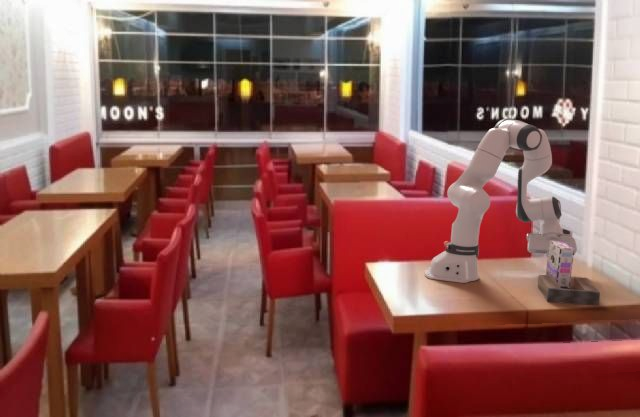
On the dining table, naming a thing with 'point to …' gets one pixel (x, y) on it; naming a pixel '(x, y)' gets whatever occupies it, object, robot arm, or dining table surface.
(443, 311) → the dining table surface
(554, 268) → the candy box
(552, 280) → the cradle
